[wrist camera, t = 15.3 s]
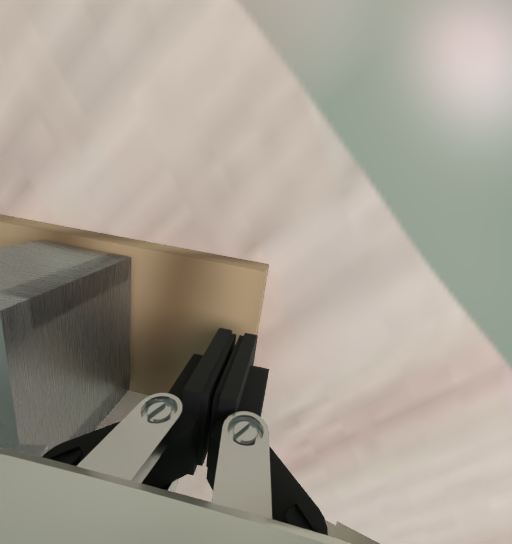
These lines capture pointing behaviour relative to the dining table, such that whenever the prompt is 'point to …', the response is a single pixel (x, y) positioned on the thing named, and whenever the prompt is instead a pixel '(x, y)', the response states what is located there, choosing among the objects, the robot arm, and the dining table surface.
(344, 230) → the dining table surface
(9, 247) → the grey concrete block
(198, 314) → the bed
